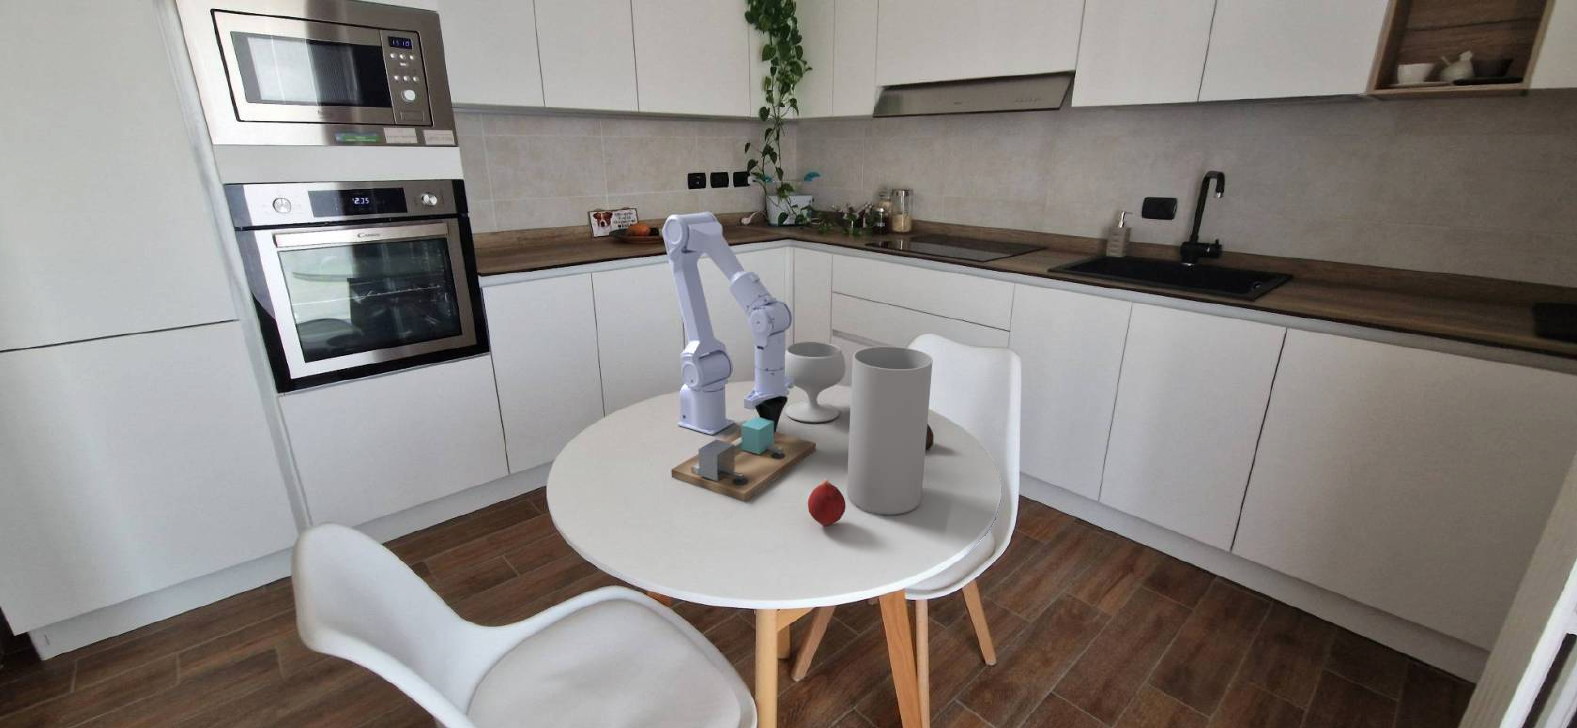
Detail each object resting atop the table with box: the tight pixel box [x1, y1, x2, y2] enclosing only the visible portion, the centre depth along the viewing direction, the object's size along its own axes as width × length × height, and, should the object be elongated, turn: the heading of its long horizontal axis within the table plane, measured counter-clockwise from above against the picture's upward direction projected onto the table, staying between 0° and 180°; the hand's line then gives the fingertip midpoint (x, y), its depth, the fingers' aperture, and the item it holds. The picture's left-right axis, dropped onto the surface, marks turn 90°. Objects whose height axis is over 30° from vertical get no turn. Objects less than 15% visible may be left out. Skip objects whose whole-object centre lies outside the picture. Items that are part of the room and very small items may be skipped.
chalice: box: [785, 341, 846, 423], centre depth 146 cm, size 14×14×15 cm
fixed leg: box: [698, 438, 744, 481], centre depth 116 cm, size 8×5×5 cm, turn 58°
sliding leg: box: [740, 416, 783, 454], centre depth 126 cm, size 8×5×5 cm, turn 58°
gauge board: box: [670, 429, 817, 502], centre depth 125 cm, size 16×24×3 cm, turn 148°
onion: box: [807, 478, 846, 527], centre depth 103 cm, size 6×6×8 cm
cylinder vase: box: [846, 345, 933, 516], centre depth 109 cm, size 12×12×25 cm
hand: (769, 432), depth 130 cm, fingers closed
